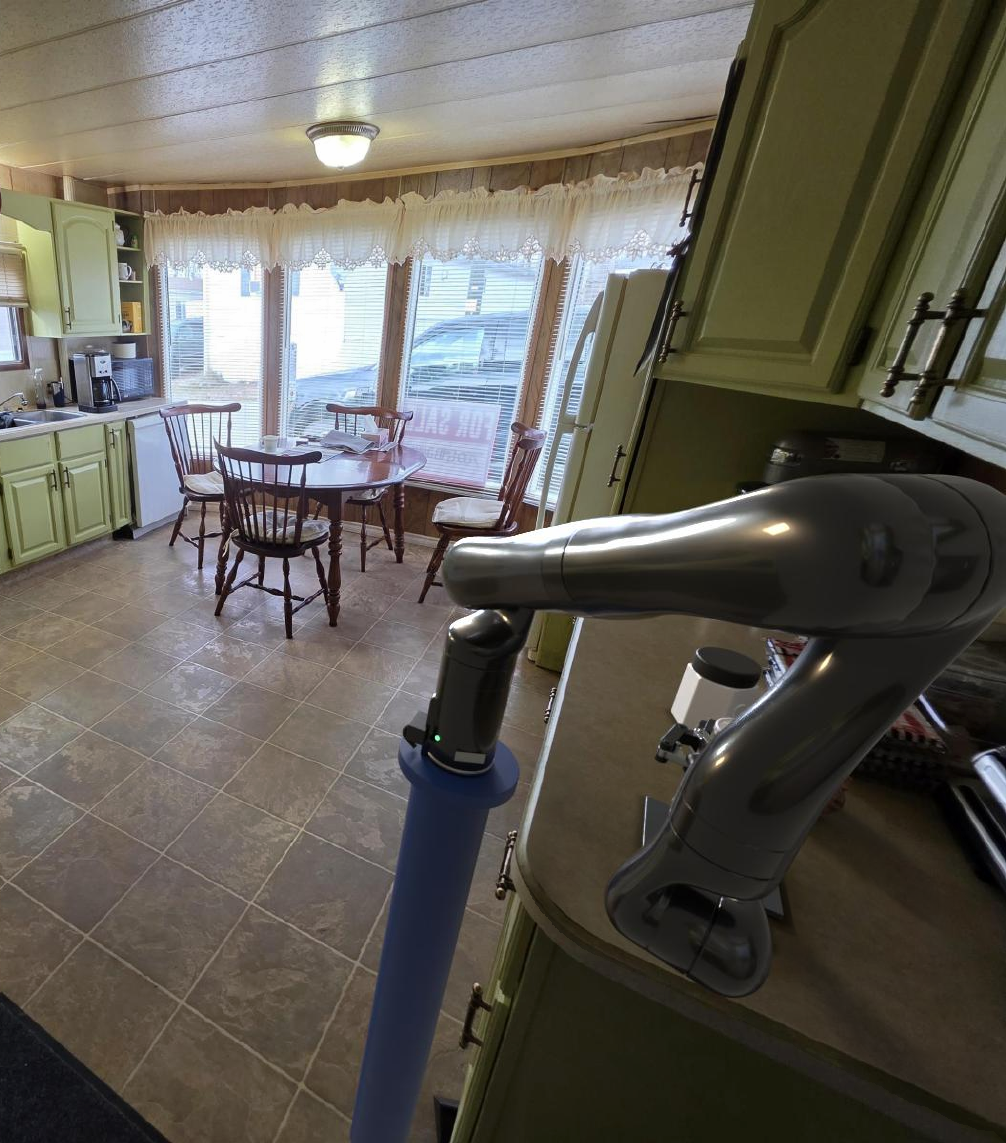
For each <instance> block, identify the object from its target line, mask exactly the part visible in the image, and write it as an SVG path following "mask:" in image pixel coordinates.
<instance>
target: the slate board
mask: <svg viewBox="0 0 1006 1143" xmlns="http://www.w3.org/2000/svg"><path fill="white" fill-rule="evenodd" d="M670 805H671V804H669V803H666V802H663V801H660V800H658V799H655V798H652V797H650V796H645V800H644V808H643V820H642V821H643V822H642V836H641V837H642V838H641V847H642V846H643V845H645V844H646V843H647V842H648V841H649V840H650V839H651V838H652V837H653V836H654V835H655V834H656V833H657V832H658V831H659V829H660V828H661V827H662V825H663V823H664V822H665V820H666V818H667V816H668V814H669V809H670ZM779 885H780V884H779ZM779 885H778V887H777V888H776V889H775V890H774V891H773V892H772V893H771V894H770V895H769V896H767V897H766V898H764V899H762V902H763V905H764V907H765V910H766V913H767V916H769V917H772V918H774V919H776V920H779V921H782V920H783V918H784V916H785V914H784V908H783V903H782V898H781V897H782V896H781V892H780V886H779Z"/></svg>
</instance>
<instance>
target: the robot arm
mask: <svg viewBox="0 0 1006 1143" xmlns="http://www.w3.org/2000/svg"><path fill="white" fill-rule="evenodd" d="M440 577H441V584H442V588H443V589H444V592H445V594H446V596H447V597H448V598H449V599H450V601H451V602H452V603H453V604H454V605H456V606H458V607H459V608H461V609H463V610H467V611H476V612H474V613H472V614H470V615H467V616H465V617H463V618H460V619H457V620H456V621H454V622H452V623H451V624H450V625H449V627H448V628H447V630H446V632H445V636H444V642H443V649H442V654H441V660H440V666H439V671H438V676H437V681H436V686H435V687H436V688H435V692H434V693H433V694H432V696H431V697H430V699H429V704H428V709H427V712H424V711H421V710H417V711H416V712H415V714H414V715H413V717H412V718H411V720H410V722H409V723H407V724H406V725H404V727H403V728H402V735H403V737H404V738H405V740H406V741H407V742H408V743H409V744H410V745H411V747H412V748H415V747H417V744H419V745H422V748H421V755H423V756H426V757H427V758H428V759H429V760H430V761H431V762H432V763H433V764H434V765H435V766H436V767H438V768H439V769H441V770H443V771H445V772H447V773H449V774H452V775H455V776H459V777H466V778H475V777H480V776H483V775H486V774H487V773H489V772H490V770H491V769H492V766H493V762H494V756H495V751H496V747H497V743H498V740H499V738H500V734H501V729H502V725H503V722H504V717H505V713H506V709H507V704H508V700H509V697H510V692H511V687H512V684H513V680H514V677H515V676H514V675H515V671H516V668H517V662H518V658H519V655H520V653H521V652H522V651H523V650H524V648H525V646H526V644H527V641H528V639H529V635H530V632H531V629H532V626H533V623H534V619H535V616H536V613H537V612H542V613H547V614H555V615H561V616H568V617H574V618H581V619H593V620H606V621H641V620H648V619H654V618H658V617H663V616H671V615H672V616H686V617H695V618H700V619H705V620H706V619H707V620H713V621H717V622H723V623H730V624H734V625H740V626H745V627H751V628H755V629H759V630H760V629H761V630H764V631H769V632H774V633H781V634H784V635H791V636H796V637H801V638H803V637H804V638H808V641H807V643H805V646H804V647H803V648H802V650H801V651H800V654H798V655H797V657H796V658H795V660H794V661H793V662H792V663H791V665H790V666H789V667H788V668H787V669H786V670H785V671H784V672H783V674H782V675H781V676H780V677H779V678H778V679H777V680H776V681H775V682H774V683H773V684H772V685H771V686H769V688H768V689H767V690H765V692H764V693H762V694H761V695H760V696H759V697H758V698H757V699H756V700H754V701H753V703H752V704H751V705H750V706H749V707H747V708H746V709H745V710H744V711H743V712H742V713H740V714H739V715H738V716H737V717H736V718H735V719H733V720H732V721H731V722H730V723H729V724H728V725H726V726H725V727H724V728H723V729H722V730H721V731H720V732H719V733H718V734H717V735H716V736H715V737H714V738H713V739H711V737H710V735H711V733H712V730H713V727H714V725H715V723H716V720H713V719H711V718H709V720H708V721H705V720H700V721H699V724H698V726H697V728H695V730H689V729H688V727H687V726H685V725H684V724H681V723H678V722H676V723H675V724H674V725H672V727H671V728H670V729H669V730H668V731H667V733H665V734H664V735H663V736H662V738H660V741H659V744H658V746H657V749H656V752H655V755H654V757H653V758H654V760H655V761H656V762H658V763H661V764H667V763H668V762H669V761H671V762H673V763H674V764H677V765H679V766H681V767H682V771H683V773H684V774H683V776H682V779H681V780H680V783H679V785H678V787H677V790H676V792H675V794H674V796H673V798H672V799H671V801H670V804H669V805H670V809H669V814H668V816H667V818H666V820H665V822H664V823H663V825H662V827H661V828H660V829H659V831H658V832H657V833H656V834H655V835H654V836H653V837H652V838H651V839H650V840H649V841H648V842H647V843H646V844H645V845H643V846H642V845H641V847H639V848H638V849H637V850H636V851H634V852H633V853H631V855H629V856H628V857H627V858H626V859H625V860H624V861H623V862H622V863H621V864H619V866H617V867H616V869H615V870H614V871H613V873H611V875H610V877H609V879H608V881H607V882H606V885H605V889H604V893H603V905H604V909H605V913H606V916H607V918H608V920H609V922H610V923H611V926H612V927H613V928H614V929H615V931H617V932H618V933H619V934H620V935H621V936H623V937H624V938H625V939H626V940H627V941H629V942H631V943H633V944H634V945H635V946H637V947H639V948H641V950H644V951H646V952H647V953H648V954H650V955H652V956H653V957H655V958H656V959H658V960H659V961H661V962H662V963H664V964H665V965H667V966H669V967H670V968H672V969H673V970H674V971H677V972H678V973H680V974H681V975H684V976H685V977H686V978H688V979H689V980H690V981H692V982H694V983H695V984H697V985H698V986H700V987H702V988H703V989H705V990H707V991H708V992H709V993H710V992H711V993H712V994H715V995H717V996H719V997H723V998H726V999H742V998H746V997H748V996H751V995H753V994H755V993H756V992H758V991H759V990H760V989H761V988H762V987H763V986H764V984H765V983H766V982H767V980H768V978H769V975H770V973H771V970H772V965H773V958H774V957H773V956H774V943H773V934H772V929H771V925H770V921H769V917H768V915H767V913H766V910H765V907H764V905H763V902H762V899H764V898H766V897H767V896H769V895H770V894H771V893H772V892H773V891H774V890H775V889H776V888H777V887H778V885H780V883H781V882H782V881H783V879H784V877H785V876H786V874H787V872H788V870H789V869H790V867H791V866H792V863H793V862H794V860H795V858H796V857H797V855H798V853H799V852H800V851H801V849H802V847H803V845H804V844H805V842H806V840H807V839H808V838H809V835H810V834H811V832H812V830H813V828H814V827H815V825H816V823H817V822H818V820H819V818H820V817H821V816H822V815H821V814H822V812H823V811H824V809H825V807H826V806H827V804H828V803H829V801H830V800H831V799H832V797H833V796H834V795H835V793H836V792H837V790H838V789H839V788H840V786H841V785H842V784H843V783H844V781H845V780H846V779H847V778H848V776H849V777H850V776H851V774H853V771H854V770H855V769H856V768H857V767H858V766H859V764H860V763H861V762H862V760H863V759H864V758H865V757H866V756H867V755H868V754H869V752H870V751H871V750H872V749H873V748H874V747H875V745H876V744H878V742H879V741H880V740H881V739H882V738H883V736H884V735H885V734H886V733H888V732H889V730H890V729H891V728H892V727H893V725H895V723H897V721H898V720H900V718H901V717H902V716H903V715H904V714H905V713H906V712H907V711H908V709H909V708H910V707H911V706H912V705H914V703H915V702H916V701H917V700H918V699H919V698H920V697H921V695H923V694H924V692H925V691H926V690H927V689H928V688H929V687H930V686H931V685H932V683H934V681H936V679H937V678H938V677H939V676H940V675H941V674H942V673H943V672H944V671H945V670H947V668H948V667H949V666H950V665H952V664H953V662H954V661H955V660H956V659H957V658H958V657H959V656H960V655H961V654H962V653H964V651H966V649H967V648H968V647H969V646H970V645H971V644H973V643H974V642H975V640H977V638H978V637H980V635H982V633H984V631H986V629H988V627H989V626H990V625H991V624H992V623H993V622H994V621H995V620H996V619H997V618H998V617H999V615H1000V614H1001V613H1002V611H1004V610H1005V609H1006V494H1004V493H1002V492H1000V491H999V490H997V489H996V488H994V487H993V486H991V485H989V484H987V483H983V482H980V481H978V480H975V479H972V478H968V477H963V476H958V475H950V474H949V475H948V474H936V473H935V474H934V473H932V474H931V473H843V472H842V473H829V474H818V475H810V476H804V477H798V478H793V479H790V480H785V481H781V482H778V483H774V484H771V485H767V486H763V487H760V488H758V489H754V490H750V491H747V492H744V493H740V494H736V495H734V496H731V497H727V498H723V499H720V500H717V501H713V502H709V503H706V504H702V505H699V506H696V507H692V508H689V509H684V510H679V511H675V512H666V513H655V512H633V513H622V514H614V515H603V516H599V517H598V516H597V517H591V518H586V519H581V520H576V521H571V522H566V523H563V524H558V525H555V526H554V525H553V526H549V527H546V528H541V529H537V530H532V531H529V532H525V533H522V534H518V535H515V536H473V537H466V538H465V537H464V538H462V539H460V540H458V541H456V542H455V543H454V544H453V545H451V547H450V548H449V550H448V551H447V553H446V554H445V556H444V558H443V560H442V563H441V568H440ZM416 743H417V744H416ZM682 745H684V746H687V747H688V749H689V750H690V752H691V753H689V754H685V752H683V751H684V750H683V748H682Z"/></svg>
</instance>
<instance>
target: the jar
mask: <svg viewBox="0 0 1006 1143" xmlns="http://www.w3.org/2000/svg"><path fill="white" fill-rule="evenodd" d="M762 673H763V668H762V665H761V664H760V663H758V662H757V661H756V660H754V659H753V658H752V657H750V656H747V655H746V654H744V653H740V652H738V651H735V650H732V649H727V648H723V647H717V646H703V647H699V648H698V649H696V650H695V654H694V657H693V659H692V662H689V663H688V664H687V666H686V669H685V672H684V674H683V676H682V680H681V682H680V684H679V688H678V690H677V692H676V696H675V698H674V700H673V703H672V707H671V710H670V712H671V714H672V716H673V717H674V719H675V721H676V723H681V724H684V725H685V726H687V727H688V729H689V730H695V728H697V726H698V724H699V721H700V720H705V721H708V720H709V718H711V719H713V720H716V721H717V720H718V719H721V718H736V717H737V716H738V715H739V714H740V713H742V712H743V711H744V710H745V709H746V708H747V707H749V706H750V705H751V704H752V703H753V702H755V699H756V697H757V695H758V692H759V689H760V686H759V685H758V683H759V682H760V679H761V676H762ZM714 735H715V734H714V733H713V730H712V733H711V735H710V737H711V739H713V738H714Z"/></svg>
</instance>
